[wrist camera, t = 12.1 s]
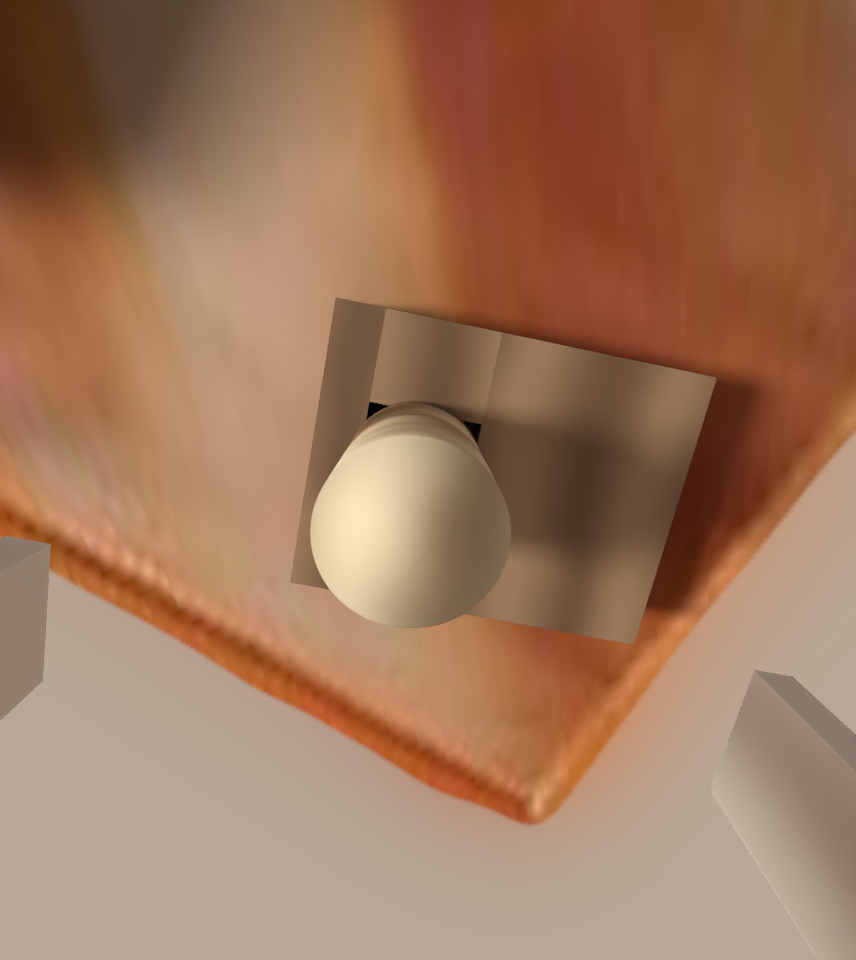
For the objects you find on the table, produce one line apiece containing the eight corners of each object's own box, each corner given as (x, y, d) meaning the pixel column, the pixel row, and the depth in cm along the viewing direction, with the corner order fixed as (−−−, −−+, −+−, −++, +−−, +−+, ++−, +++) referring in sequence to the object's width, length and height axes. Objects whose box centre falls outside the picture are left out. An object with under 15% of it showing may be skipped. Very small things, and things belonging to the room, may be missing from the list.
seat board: (308, 548, 35) (290, 582, 30) (348, 303, 32) (335, 297, 27) (605, 602, 36) (633, 644, 31) (673, 371, 33) (717, 377, 28)
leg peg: (346, 495, 34) (294, 610, 20) (367, 381, 32) (326, 417, 18) (459, 517, 34) (487, 645, 20) (484, 405, 33) (534, 458, 19)
